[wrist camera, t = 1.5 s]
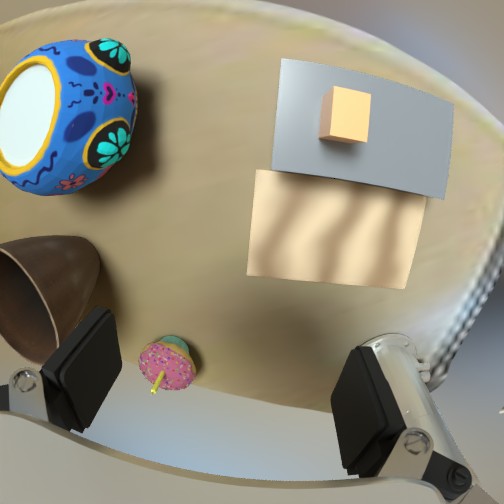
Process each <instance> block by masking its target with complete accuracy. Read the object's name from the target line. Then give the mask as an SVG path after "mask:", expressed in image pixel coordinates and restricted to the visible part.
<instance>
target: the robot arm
mask: <svg viewBox="0 0 504 504" xmlns="http://www.w3.org/2000/svg"><path fill="white" fill-rule="evenodd" d="M121 368H122V360H121V354H120V349H119V343H118V337H117V330H116V324H115V317H114V314H112V313H111V311H110V310H109V309H106V308H102V307H98V306H97V307H95V308H94V309H93V310H92V311H91V312H90V313H89V314H88V315H87V316H86V317H85V319H84V320H83V321H82V322H81V323H80V324H79V325H78V326H77V327H76V328H75V329H74V331H73V332H72V333H71V334H70V335H69V336H68V337H67V338H66V339H65V341H64V342H63V343H62V344H61V345H60V346H59V347H58V348H57V350H56V351H55V352H54V353H53V354H52V355H51V357H50V358H49V359H48V360H47V361H46V362H45V364H44V365H43V366H42V369H41V370H40V371H39V372H38V371H37V370H36V369H34V368H30V367H24V368H20V369H18V370H16V371H15V372H14V373H13V374H12V375H11V377H10V379H9V384H7V385H2V386H0V504H498V503H497V502H496V501H495V500H494V499H493V498H492V497H491V496H490V495H488V494H487V493H486V492H485V491H484V490H483V489H482V486H481V483H480V481H479V479H478V477H477V475H476V474H475V472H474V471H473V469H472V468H471V467H470V465H469V464H468V462H467V461H466V459H465V458H464V456H463V455H462V453H461V451H460V450H459V448H458V446H457V445H456V443H455V441H454V439H453V437H452V435H451V433H450V431H449V429H448V427H447V426H446V424H445V422H444V420H443V417H442V416H441V414H440V412H439V410H438V408H437V406H436V404H435V402H434V400H433V398H432V396H431V394H430V392H429V391H428V389H427V387H426V385H425V383H424V382H428V381H429V380H430V373H429V372H428V371H426V372H419V371H420V370H421V371H424V370H429V369H430V363H429V362H427V363H419V362H418V361H417V359H416V348H415V346H414V344H413V342H412V341H411V340H410V339H409V338H408V337H406V336H404V335H401V334H386V335H382V336H379V337H376V338H374V339H372V340H369V341H368V342H366V343H365V344H363V345H362V346H357V347H356V348H355V349H352V350H351V352H350V354H349V356H348V359H347V361H346V364H345V366H344V368H343V370H342V373H341V375H340V377H339V380H338V382H337V384H336V386H335V388H334V390H333V393H332V395H331V407H332V412H333V416H334V422H335V427H336V432H337V437H338V443H339V448H340V454H341V460H342V466H343V468H344V469H347V473H348V475H356V474H359V478H357V479H346V480H329V481H271V480H256V479H245V478H235V477H227V476H220V475H213V474H207V473H201V472H196V471H191V470H186V469H181V468H176V467H172V466H168V465H163V464H160V463H156V462H152V461H149V460H145V459H142V458H138V457H135V456H132V455H129V454H126V453H122V452H120V451H117V450H114V449H111V448H109V447H106V446H103V445H101V444H98V443H95V442H93V441H90V440H88V439H85V438H83V437H80V436H78V435H76V434H73V433H71V432H70V430H71V429H74V430H76V431H78V432H80V433H83V431H84V429H85V428H88V427H89V426H90V425H91V423H92V421H93V419H94V417H95V416H96V414H97V412H98V410H99V408H100V406H101V405H102V403H103V401H104V399H105V397H106V396H107V394H108V392H109V390H110V389H111V387H112V385H113V383H114V382H115V380H116V378H117V377H118V375H119V373H120V371H121Z"/></svg>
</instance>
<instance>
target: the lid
mask: <svg viewBox="0 0 504 504" xmlns="http://www.w3.org/2000/svg"><path fill="white" fill-rule="evenodd" d="M453 116H454V104H453V103H450V102H448V101H446V100H443V99H441V98H439V97H436V96H434V95H431V94H428V93H426V92H423V91H420V90H418V89H415V88H412V87H409V86H406V85H403V84H400V83H397V82H394V81H391V80H387V79H384V78H380V77H377V76H373V75H369V74H365V73H362V72H357V71H353V70H349V69H344V68H340V67H335V66H330V65H324V64H319V63H313V62H306V61H299V60H292V59H283V58H282V59H281V70H280V81H279V92H278V102H277V113H276V123H275V134H274V144H273V154H272V164H271V170H278V171H287V172H295V173H303V174H311V175H318V176H325V177H332V178H338V179H344V180H350V181H356V182H362V183H368V184H373V185H378V186H383V187H388V188H393V189H398V190H403V191H408V192H412V193H417V194H421V195H425V196H429V197H434V198H438V199H442V200H444V199H445V193H446V187H447V180H448V173H449V165H450V157H451V147H452V134H453Z"/></svg>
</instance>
